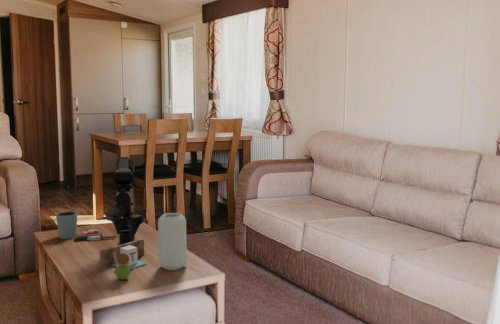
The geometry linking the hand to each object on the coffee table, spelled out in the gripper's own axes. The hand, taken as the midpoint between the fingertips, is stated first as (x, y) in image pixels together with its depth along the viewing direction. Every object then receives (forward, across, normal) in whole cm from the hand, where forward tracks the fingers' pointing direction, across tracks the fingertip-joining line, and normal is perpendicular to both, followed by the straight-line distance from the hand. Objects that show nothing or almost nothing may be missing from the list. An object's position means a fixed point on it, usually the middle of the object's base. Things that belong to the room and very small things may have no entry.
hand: (125, 236), depth 215 cm
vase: (+11, +20, +8) cm, 25 cm away
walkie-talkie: (+13, -41, +13) cm, 45 cm away
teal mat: (+11, +4, -2) cm, 12 cm away
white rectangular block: (+11, +4, -2) cm, 12 cm away
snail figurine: (+11, +15, -14) cm, 23 cm away
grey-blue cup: (+13, -55, +6) cm, 56 cm away
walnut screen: (+12, -3, 0) cm, 12 cm away
